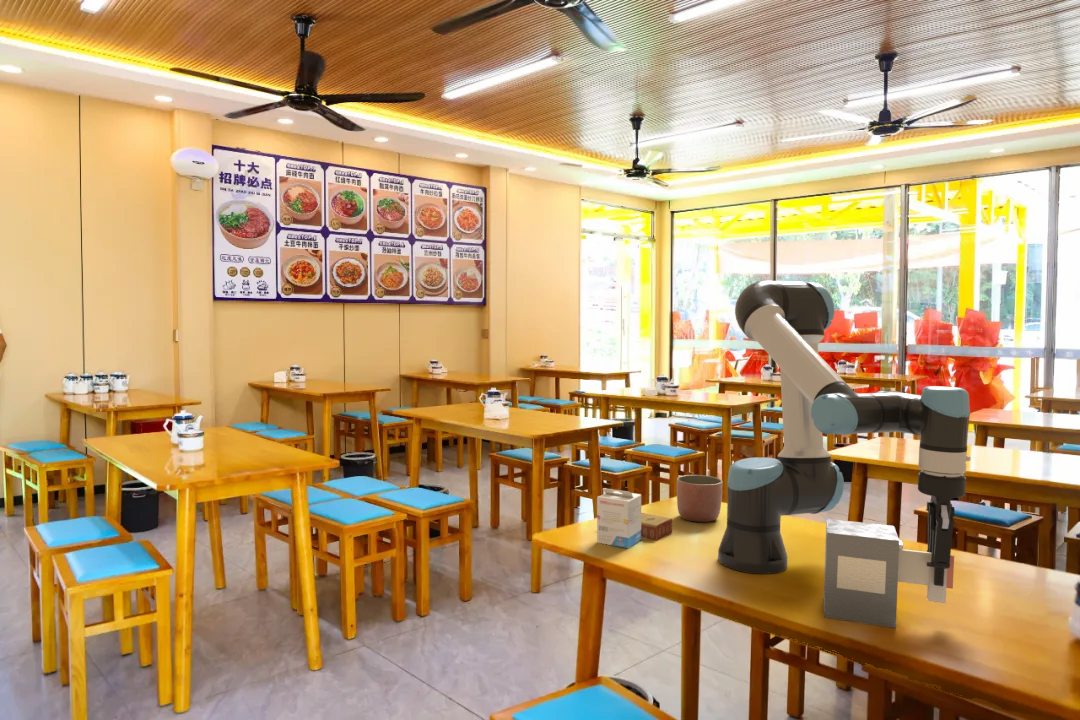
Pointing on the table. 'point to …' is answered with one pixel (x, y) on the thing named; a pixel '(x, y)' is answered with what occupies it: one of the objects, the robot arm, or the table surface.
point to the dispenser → (861, 572)
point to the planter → (699, 497)
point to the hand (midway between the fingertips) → (936, 599)
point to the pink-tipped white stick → (919, 567)
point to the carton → (655, 526)
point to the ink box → (618, 518)
